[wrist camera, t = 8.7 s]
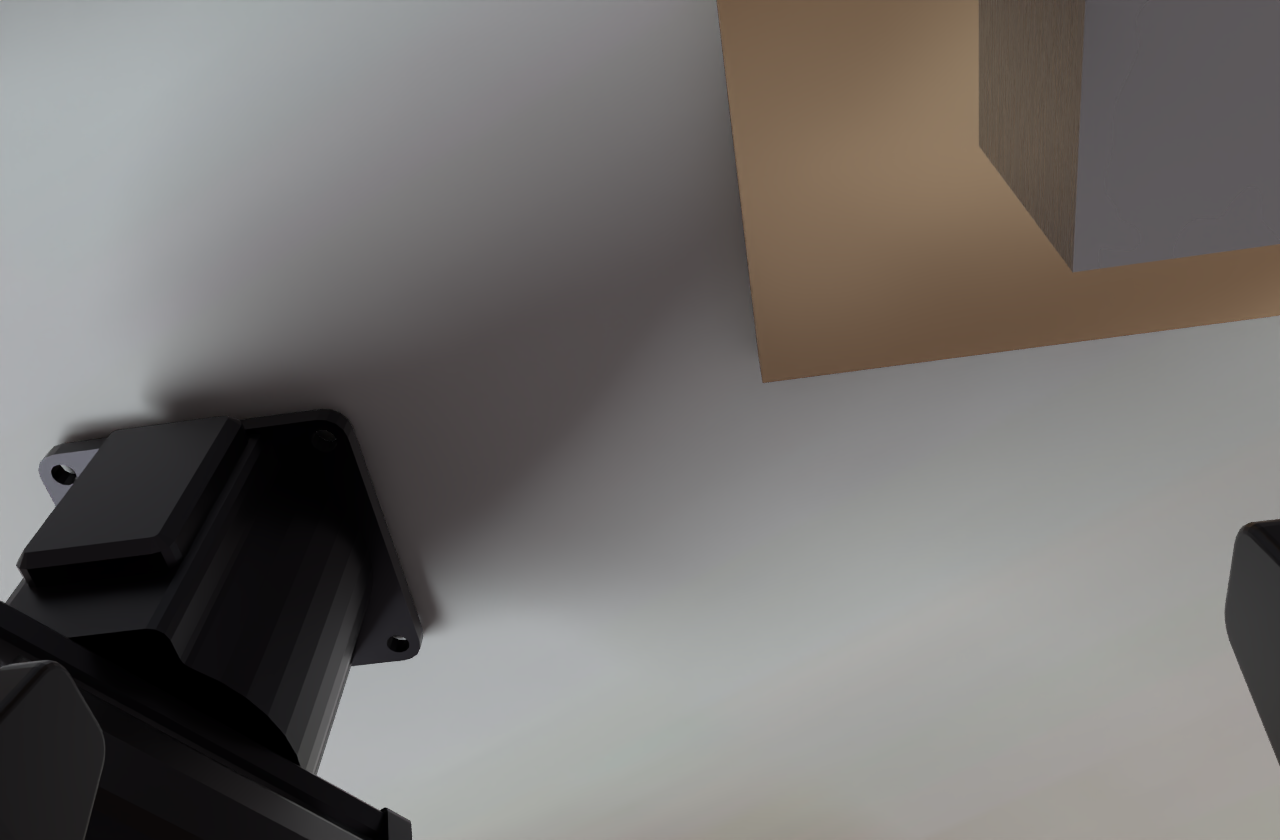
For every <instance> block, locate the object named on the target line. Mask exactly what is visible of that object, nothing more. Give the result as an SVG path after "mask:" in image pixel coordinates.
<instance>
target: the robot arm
mask: <svg viewBox="0 0 1280 840" xmlns="http://www.w3.org/2000/svg"><path fill="white" fill-rule="evenodd" d="M319 430H325V431H328V432H330V433H332V434H333V435H334V436H335V438H336V440H333V441H329V440H325V439H323V438H321V437H320V436H319V435H318V433H317V432H316V431H319ZM61 465H66V466H68V467H70V468H72V469H73V471H74V472H75V473H76V474H71V473H69V472H67V471H65V470H64V469H63V468H62V467H61ZM39 474H40V477H41V479H42V481H43V483H44V485H45V487H46V489H47V491H48V492H49V494H50V496H51V498H52V500H53V502H54V504H55V506H56V507H55V509H54V510H53V511H52V513H51V514H50V515H49V517H48V518H47V519H46V521H45V522H44V523H43V525H42V526H41V528H40V529H39V530H38V532H37V533H36V534H35V536H34V537H33V538H32V540H31V541H30V542H29V544H28V545H27V546H26V548H25V549H24V550H23V552H22V554H21V556H20V558H19V559H18V562H17V565H16V566H17V568H18V570H19V571H20V573H21V575H22V576H23V579H22V581H21V582H20V583H19V585H18V586H17V588H16V589H15V590H14V592H13V593H12V594H11V596H10V597H9V599H8V600H7V601H6V603H4V602H2V601H0V840H412V829H411V822H410V820H408V819H406V818H404V817H402V816H401V815H399V814H397V813H395V812H393V811H392V810H390V809H388V808H383V809H381V810H378V809H376V808H374V807H373V806H371V805H369V804H367V803H365V802H364V801H362V800H360V799H358V798H356V797H355V796H353V795H351V794H349V793H347V792H346V791H344V790H342V789H340V788H338V787H337V786H335V785H333V784H331V783H329V782H327V781H326V780H324V779H322V778H320V777H318V776H317V772H318V769H319V766H320V762H321V759H322V756H323V753H324V750H325V747H326V744H327V740H328V737H329V734H330V731H331V728H332V725H333V721H334V718H335V715H336V712H337V709H338V706H339V702H340V699H341V696H342V693H343V690H344V687H345V683H346V680H347V677H348V674H349V671H350V668H351V666H357V665H366V664H375V663H383V662H392V661H401V660H407V659H410V658H412V657H414V656H415V655H416V654H418V652H419V649H420V647H421V643H422V639H423V629H422V626H421V623H420V620H419V617H418V614H417V611H416V608H415V606H414V603H413V600H412V597H411V594H410V591H409V588H408V585H407V582H406V580H405V577H404V574H403V571H402V568H401V565H400V562H399V559H398V556H397V554H396V551H395V548H394V545H393V542H392V539H391V536H390V533H389V530H388V528H387V525H386V522H385V519H384V516H383V513H382V510H381V507H380V504H379V502H378V499H377V496H376V493H375V490H374V487H373V484H372V481H371V479H370V476H369V473H368V470H367V467H366V464H365V461H364V458H363V455H362V453H361V450H360V447H359V444H358V441H357V438H356V435H355V432H354V429H353V427H352V425H351V423H350V422H349V420H348V419H347V418H346V417H345V416H343V415H342V414H341V413H339V412H336V411H333V410H327V409H320V410H312V411H305V412H297V413H290V414H282V415H275V416H267V417H260V418H252V419H245V420H239V419H236V418H232V417H229V416H220V417H212V418H205V419H197V420H190V421H183V422H175V423H168V424H160V425H153V426H145V427H138V428H130V429H123V430H116V431H114V432H112V433H111V434H110V435H109V437H108V438H102V439H95V440H87V441H80V442H72V443H65V444H60V445H57V446H54V447H53V448H52V449H51V450H50V451H49V453H48V454H47V455H46V456H45V457H44V459H43V460H42V461H41V462H40V465H39ZM1225 624H1226V630H1227V634H1228V638H1229V641H1230V644H1231V646H1232V649H1233V651H1234V654H1235V656H1236V659H1237V661H1238V664H1239V666H1240V669H1241V671H1242V674H1243V676H1244V679H1245V681H1246V683H1247V686H1248V688H1249V691H1250V693H1251V696H1252V698H1253V701H1254V703H1255V706H1256V708H1257V711H1258V713H1259V716H1260V718H1261V721H1262V723H1263V726H1264V728H1265V731H1266V733H1267V736H1268V738H1269V741H1270V743H1271V746H1272V748H1273V751H1274V753H1275V756H1276V758H1277V760H1278V763H1279V765H1280V519H1276V520H1267V521H1258V522H1251V523H1248V524H1246V525H1244V526H1243V527H1242V528H1241V529H1240V530H1239V532H1238V534H1237V536H1236V540H1235V544H1234V550H1233V557H1232V564H1231V570H1230V577H1229V583H1228V590H1227V597H1226V603H1225ZM395 635H396V636H402V637H404V638H406V640H398V639H396V638H394V637H393V636H395Z"/></svg>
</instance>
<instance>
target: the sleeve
mask: <svg viewBox="0 0 1280 840" xmlns="http://www.w3.org/2000/svg"><path fill="white" fill-rule="evenodd" d="M979 147H980V148H981V149H982V151H983V152H984V154H985V155H986V156H987V158H988V159H989V160H990V162H991V163H992V164H993V166H994V167H995V168H996V170H997V171H998V172H999V174H1000V175H1001V176H1002V178H1003V179H1004V180H1005V182H1006V183H1007V185H1008V186H1009V187H1010V189H1011V190H1012V191H1013V193H1014V194H1015V195H1016V197H1017V198H1018V199H1019V201H1020V202H1021V203H1022V205H1023V206H1024V207H1025V209H1026V210H1027V211H1028V213H1029V214H1030V216H1031V217H1032V218H1033V220H1034V221H1035V222H1036V224H1037V225H1038V226H1039V228H1040V229H1041V230H1042V232H1043V233H1044V234H1045V236H1046V237H1047V238H1048V240H1049V241H1050V242H1051V244H1052V245H1053V247H1054V248H1055V249H1056V251H1057V252H1058V253H1059V255H1060V256H1061V257H1062V259H1063V260H1064V261H1065V263H1066V264H1067V265H1068V267H1069V268H1070V269H1071V271H1072V272H1079V271H1087V270H1094V269H1101V268H1109V267H1116V266H1123V265H1131V264H1138V263H1145V262H1153V261H1160V260H1167V259H1175V258H1182V257H1189V256H1197V255H1204V254H1211V253H1219V252H1226V251H1233V250H1241V249H1248V248H1255V247H1263V246H1270V245H1277V244H1280V0H979Z"/></svg>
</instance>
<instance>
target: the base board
mask: <svg viewBox="0 0 1280 840" xmlns="http://www.w3.org/2000/svg"><path fill="white" fill-rule="evenodd" d="M717 8H718V17H719V25H720V34H721V42H722V51H723V59H724V68H725V76H726V84H727V93H728V101H729V110H730V118H731V127H732V135H733V144H734V152H735V161H736V169H737V178H738V186H739V195H740V203H741V212H742V220H743V229H744V237H745V246H746V254H747V262H748V271H749V279H750V288H751V296H752V305H753V313H754V322H755V330H756V339H757V347H758V356H759V362H760V369H761V375H762V381H763V383H766V382H774V381H782V380H789V379H797V378H805V377H812V376H820V375H827V374H835V373H843V372H850V371H858V370H866V369H873V368H881V367H889V366H896V365H904V364H912V363H919V362H927V361H934V360H942V359H950V358H957V357H965V356H973V355H980V354H988V353H996V352H1003V351H1011V350H1019V349H1026V348H1034V347H1042V346H1049V345H1057V344H1064V343H1072V342H1080V341H1087V340H1095V339H1103V338H1110V337H1118V336H1126V335H1133V334H1141V333H1149V332H1156V331H1164V330H1171V329H1179V328H1187V327H1194V326H1202V325H1210V324H1217V323H1225V322H1233V321H1240V320H1248V319H1256V318H1263V317H1271V316H1278V315H1280V244H1277V245H1270V246H1263V247H1255V248H1248V249H1241V250H1233V251H1226V252H1219V253H1211V254H1204V255H1197V256H1189V257H1182V258H1175V259H1167V260H1160V261H1153V262H1145V263H1138V264H1131V265H1123V266H1116V267H1109V268H1101V269H1094V270H1087V271H1079V272H1072V271H1071V269H1070V268H1069V267H1068V265H1067V264H1066V263H1065V261H1064V260H1063V259H1062V257H1061V256H1060V255H1059V253H1058V252H1057V251H1056V249H1055V248H1054V247H1053V245H1052V244H1051V242H1050V241H1049V240H1048V238H1047V237H1046V236H1045V234H1044V233H1043V232H1042V230H1041V229H1040V228H1039V226H1038V225H1037V224H1036V222H1035V221H1034V220H1033V218H1032V217H1031V216H1030V214H1029V213H1028V211H1027V210H1026V209H1025V207H1024V206H1023V205H1022V203H1021V202H1020V201H1019V199H1018V198H1017V197H1016V195H1015V194H1014V193H1013V191H1012V190H1011V189H1010V187H1009V186H1008V185H1007V183H1006V182H1005V180H1004V179H1003V178H1002V176H1001V175H1000V174H999V172H998V171H997V170H996V168H995V167H994V166H993V164H992V163H991V162H990V160H989V159H988V158H987V156H986V155H985V154H984V152H983V151H982V149H981V148H980V147H979V0H717Z"/></svg>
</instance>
